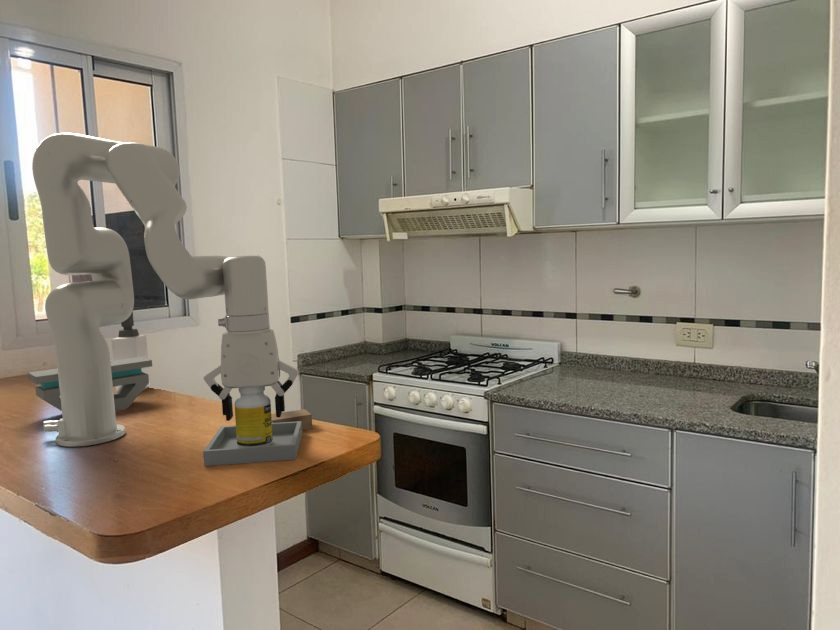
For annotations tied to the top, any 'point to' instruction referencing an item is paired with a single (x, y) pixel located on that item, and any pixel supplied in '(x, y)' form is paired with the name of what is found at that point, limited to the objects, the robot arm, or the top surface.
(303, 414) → the walnut block
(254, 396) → the pill bottle
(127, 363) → the sharpening stone
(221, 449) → the tray
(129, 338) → the soap dispenser
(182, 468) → the top surface
